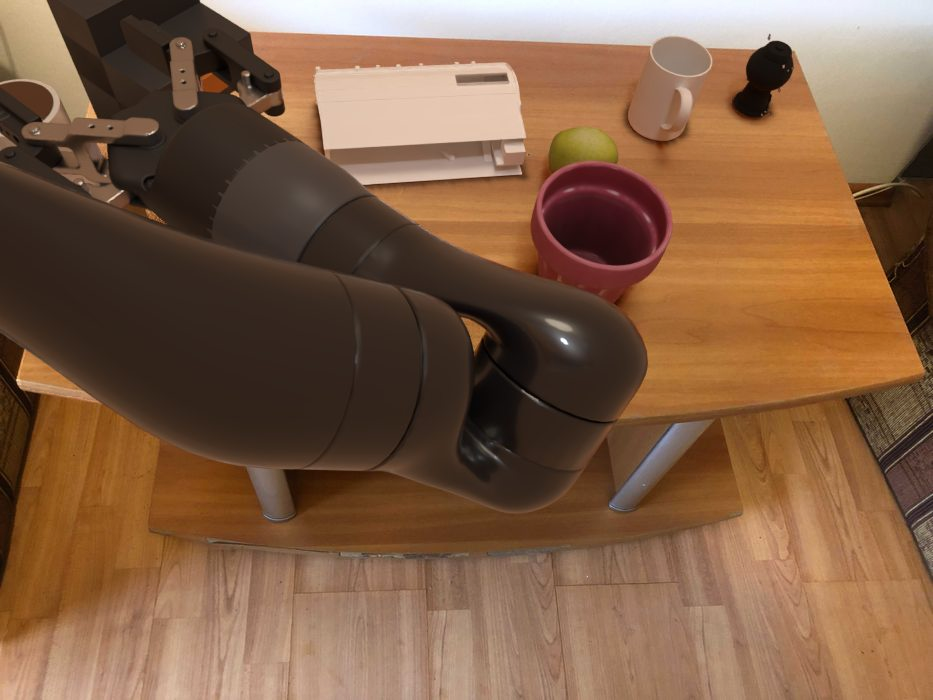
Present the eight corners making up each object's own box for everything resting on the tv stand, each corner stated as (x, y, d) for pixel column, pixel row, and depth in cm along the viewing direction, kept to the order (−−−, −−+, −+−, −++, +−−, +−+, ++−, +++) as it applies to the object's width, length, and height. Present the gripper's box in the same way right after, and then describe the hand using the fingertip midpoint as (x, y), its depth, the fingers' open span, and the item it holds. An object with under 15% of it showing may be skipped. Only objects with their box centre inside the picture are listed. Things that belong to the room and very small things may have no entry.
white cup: (8, 215, 59) (-50, 126, 51) (42, 162, 62) (-7, 71, 54) (82, 228, 59) (36, 142, 51) (113, 174, 62) (73, 85, 54)
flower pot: (642, 344, 81) (681, 274, 70) (516, 333, 81) (535, 260, 70) (633, 243, 89) (667, 166, 78) (517, 232, 88) (535, 152, 77)
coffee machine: (295, 191, 88) (266, 9, 68) (219, 250, 83) (163, 71, 62) (202, 127, 92) (148, -63, 72) (123, 180, 87) (41, -10, 66)
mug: (624, 99, 102) (646, 32, 93) (679, 104, 103) (707, 37, 94) (633, 163, 96) (658, 98, 87) (692, 167, 96) (723, 103, 87)
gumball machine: (779, 121, 103) (815, 60, 94) (743, 129, 101) (776, 67, 93) (754, 90, 106) (786, 28, 97) (719, 97, 104) (748, 34, 96)
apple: (605, 217, 91) (623, 169, 84) (535, 194, 91) (547, 145, 85) (619, 174, 95) (637, 126, 88) (552, 153, 95) (564, 103, 89)
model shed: (324, 187, 89) (319, 144, 83) (315, 104, 96) (310, 59, 90) (524, 174, 93) (534, 132, 87) (502, 96, 100) (509, 51, 94)
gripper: (365, 82, 38) (148, -51, 42) (139, 246, 31) (-92, 70, 35) (369, 186, 44) (180, 62, 48) (182, 340, 37) (-18, 182, 42)
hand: (66, 66), depth 42 cm, fingers open, 8 cm apart
